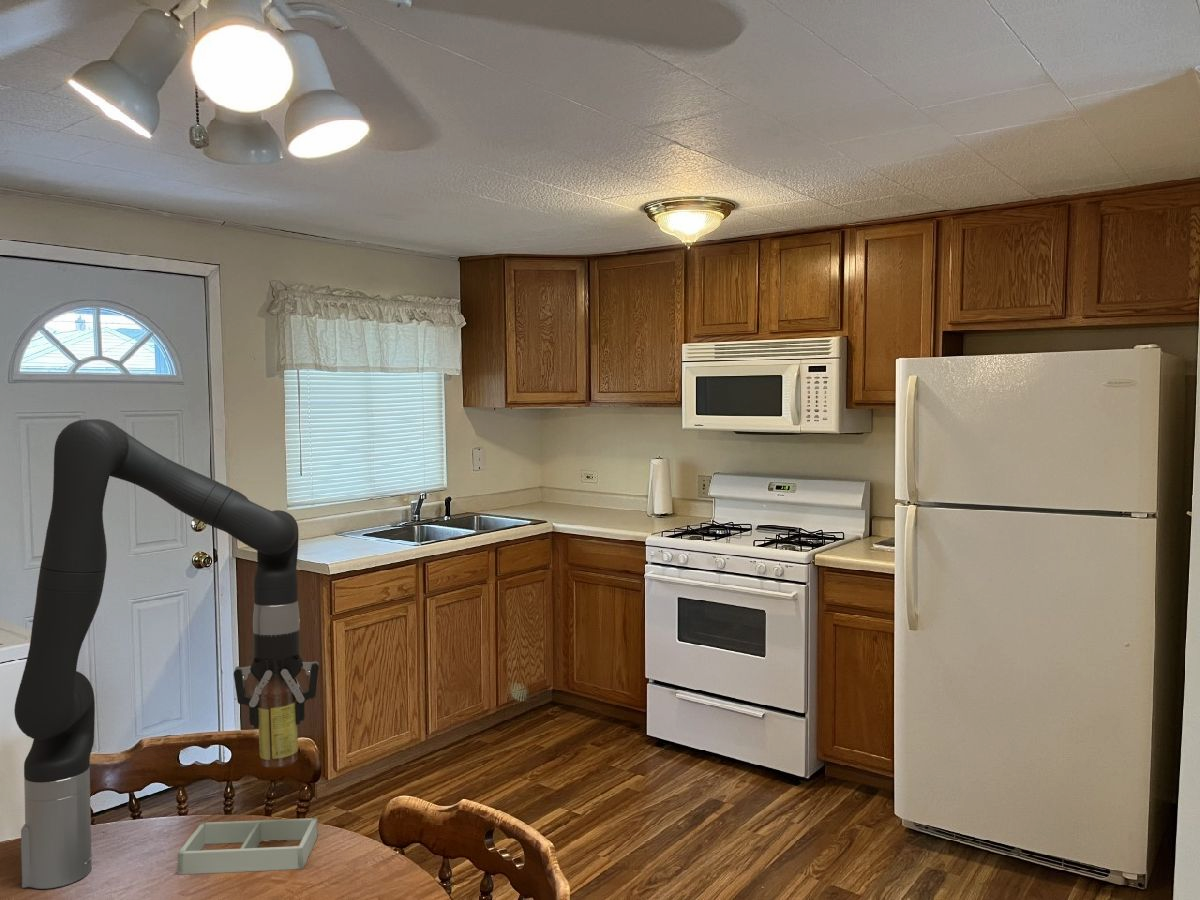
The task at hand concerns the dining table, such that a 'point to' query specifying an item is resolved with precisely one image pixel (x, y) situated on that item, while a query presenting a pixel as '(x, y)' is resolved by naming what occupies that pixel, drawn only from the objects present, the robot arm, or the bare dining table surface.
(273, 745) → the sauce bottle
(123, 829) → the dining table surface
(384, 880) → the dining table surface
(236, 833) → the corral
